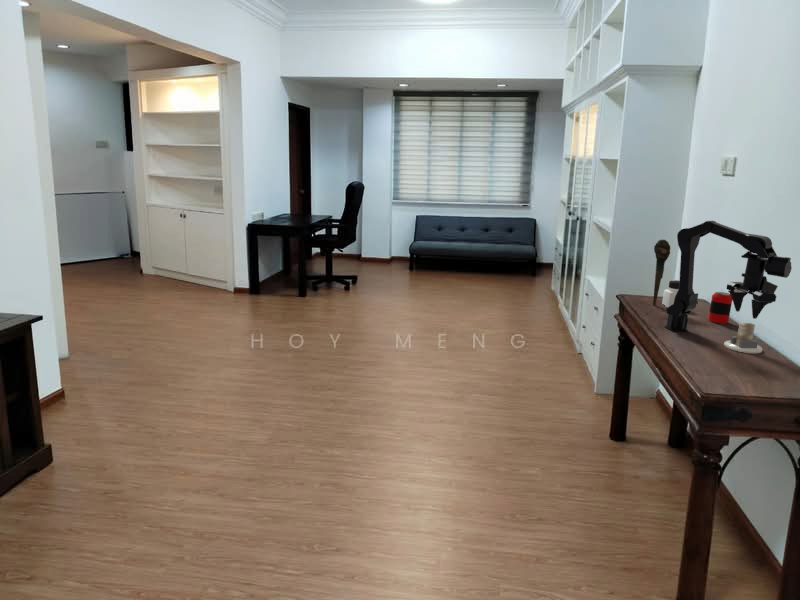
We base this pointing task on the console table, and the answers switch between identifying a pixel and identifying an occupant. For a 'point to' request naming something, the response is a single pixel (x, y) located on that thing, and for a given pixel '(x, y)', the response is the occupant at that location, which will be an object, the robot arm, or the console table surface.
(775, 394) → the console table surface
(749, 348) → the dish
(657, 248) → the decorative torch
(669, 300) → the medicine bottle
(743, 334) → the block
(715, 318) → the soda can
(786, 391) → the console table surface
